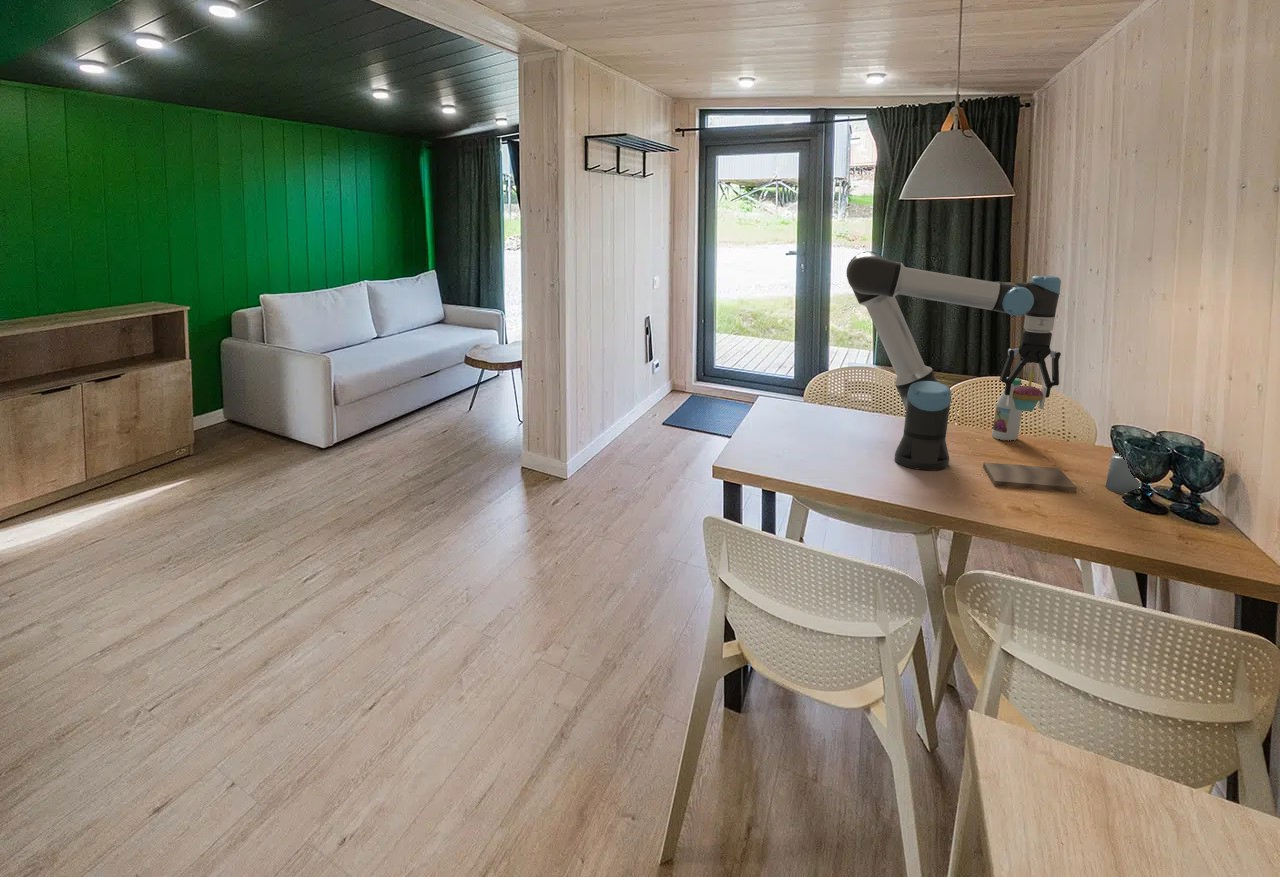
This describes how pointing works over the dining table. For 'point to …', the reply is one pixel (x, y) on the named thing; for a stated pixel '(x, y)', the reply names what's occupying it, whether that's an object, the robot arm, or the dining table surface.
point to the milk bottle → (1007, 417)
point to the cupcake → (1026, 396)
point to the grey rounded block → (1120, 476)
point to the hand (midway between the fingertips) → (1024, 406)
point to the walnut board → (1029, 477)
